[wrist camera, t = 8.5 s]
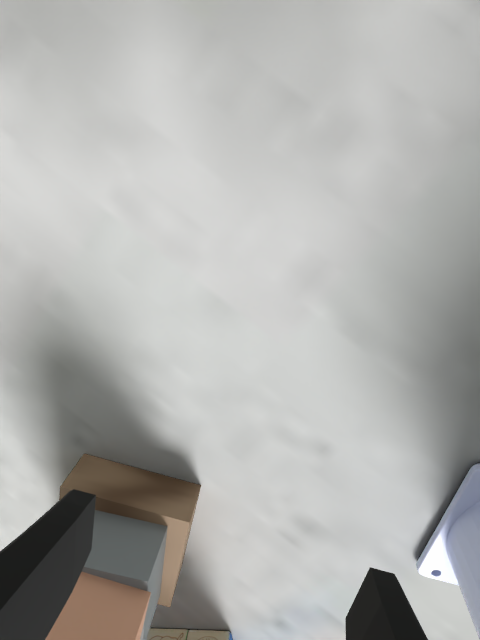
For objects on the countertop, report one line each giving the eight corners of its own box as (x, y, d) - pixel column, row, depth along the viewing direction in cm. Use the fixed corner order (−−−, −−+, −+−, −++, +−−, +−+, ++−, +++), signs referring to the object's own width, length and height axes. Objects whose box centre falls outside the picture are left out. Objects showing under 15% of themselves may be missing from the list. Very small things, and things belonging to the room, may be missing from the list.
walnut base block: (202, 480, 24) (190, 522, 21) (183, 560, 26) (169, 607, 23) (87, 448, 24) (60, 486, 21) (80, 531, 26) (55, 574, 24)
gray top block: (167, 526, 21) (148, 581, 18) (160, 595, 23) (141, 654, 20) (66, 503, 21) (32, 554, 19) (68, 573, 24) (38, 628, 21)
